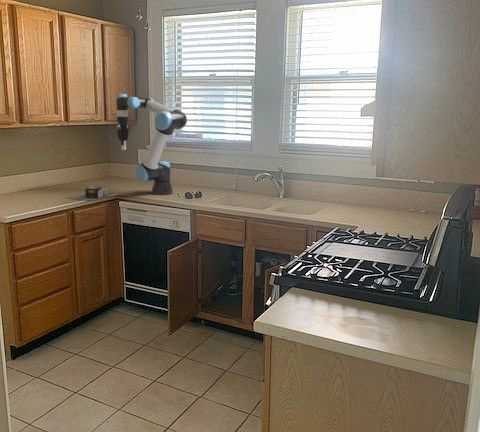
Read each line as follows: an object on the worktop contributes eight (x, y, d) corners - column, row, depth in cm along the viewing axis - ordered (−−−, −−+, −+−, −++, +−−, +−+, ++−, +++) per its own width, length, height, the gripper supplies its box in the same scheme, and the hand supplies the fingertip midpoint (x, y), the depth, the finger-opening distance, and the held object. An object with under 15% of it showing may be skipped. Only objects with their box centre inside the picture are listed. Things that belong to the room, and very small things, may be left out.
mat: (108, 196, 328) (108, 195, 328) (91, 200, 312) (90, 200, 312) (85, 193, 336) (85, 193, 336) (67, 198, 320) (67, 197, 320)
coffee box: (106, 185, 332) (98, 189, 317) (107, 194, 334) (98, 198, 318) (93, 184, 333) (84, 188, 317) (94, 193, 334) (85, 198, 319)
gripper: (123, 116, 344) (125, 148, 349) (112, 116, 332) (113, 150, 338) (132, 116, 341) (133, 149, 346) (121, 116, 329) (122, 150, 335)
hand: (123, 149), depth 342 cm, fingers closed
